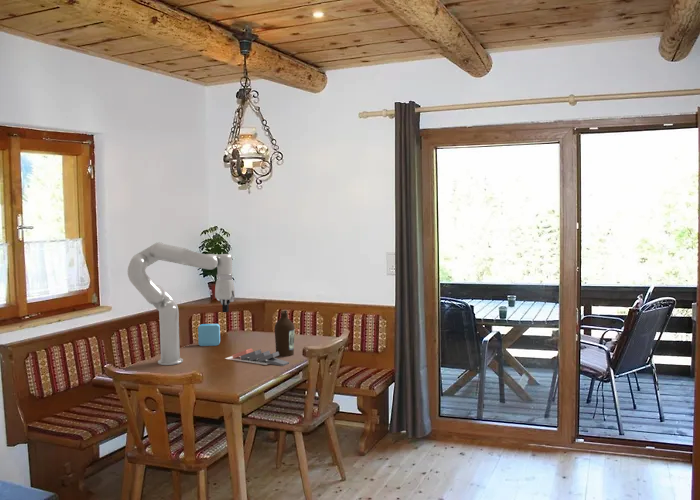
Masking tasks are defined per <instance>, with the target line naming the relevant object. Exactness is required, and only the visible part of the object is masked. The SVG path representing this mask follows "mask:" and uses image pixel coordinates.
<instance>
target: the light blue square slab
mask: <svg viewBox="0 0 700 500" xmlns="http://www.w3.org/2000/svg"><path fill="white" fill-rule="evenodd" d="M197 336H198V337H197V339H198V340H197V341H198V345H199V346H200V347H210V346H212V347H215V346H219V345H220V343H221V325H220V324H219V323H202V324H199V325H198V327H197Z"/></svg>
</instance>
